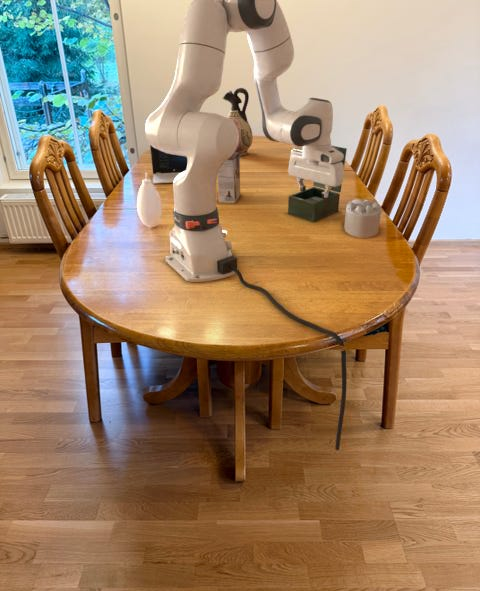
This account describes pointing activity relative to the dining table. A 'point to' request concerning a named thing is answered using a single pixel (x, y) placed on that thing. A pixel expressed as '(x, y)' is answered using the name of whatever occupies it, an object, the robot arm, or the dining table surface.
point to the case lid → (343, 150)
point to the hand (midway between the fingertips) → (313, 193)
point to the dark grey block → (314, 199)
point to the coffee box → (229, 180)
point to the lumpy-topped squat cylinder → (362, 218)
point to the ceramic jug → (240, 119)
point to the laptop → (166, 166)
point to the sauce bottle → (149, 204)
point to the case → (313, 204)
